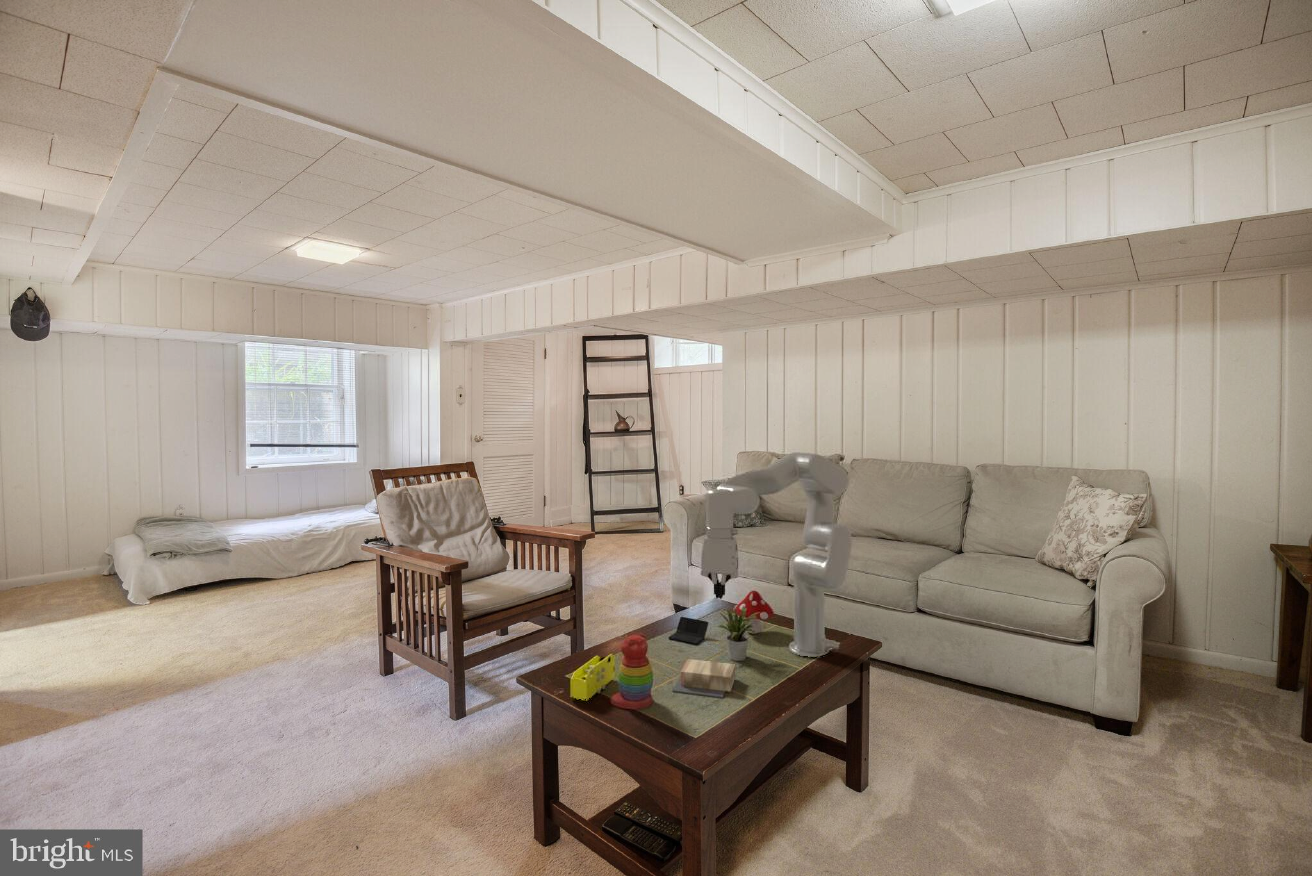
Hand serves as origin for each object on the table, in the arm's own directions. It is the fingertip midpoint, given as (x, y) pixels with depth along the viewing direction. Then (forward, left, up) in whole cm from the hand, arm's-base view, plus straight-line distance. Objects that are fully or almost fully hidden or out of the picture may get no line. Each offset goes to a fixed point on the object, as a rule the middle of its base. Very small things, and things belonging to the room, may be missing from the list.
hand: (719, 597), depth 173 cm
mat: (+5, 0, -25) cm, 25 cm away
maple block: (-4, 0, -23) cm, 23 cm away
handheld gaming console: (+16, -32, -26) cm, 44 cm away
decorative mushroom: (-5, -43, -25) cm, 50 cm away
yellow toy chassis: (+33, +13, -25) cm, 44 cm away
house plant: (-3, -19, -25) cm, 32 cm away
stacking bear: (+20, +16, -25) cm, 36 cm away
